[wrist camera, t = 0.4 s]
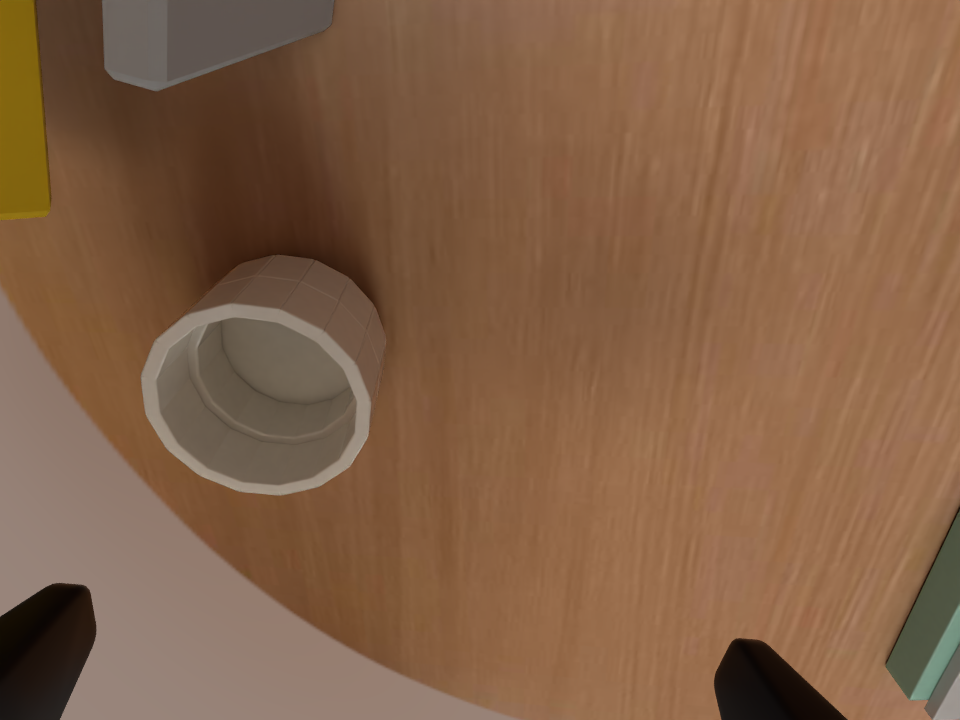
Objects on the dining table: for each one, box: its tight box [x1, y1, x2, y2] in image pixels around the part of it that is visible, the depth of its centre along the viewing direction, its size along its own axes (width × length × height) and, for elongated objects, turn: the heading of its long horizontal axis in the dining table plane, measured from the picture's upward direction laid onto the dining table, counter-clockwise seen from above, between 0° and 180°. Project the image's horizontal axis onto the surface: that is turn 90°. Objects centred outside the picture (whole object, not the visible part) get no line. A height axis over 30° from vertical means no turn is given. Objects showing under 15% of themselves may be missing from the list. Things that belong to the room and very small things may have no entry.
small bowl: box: [141, 255, 386, 495], centre depth 18 cm, size 6×6×5 cm
